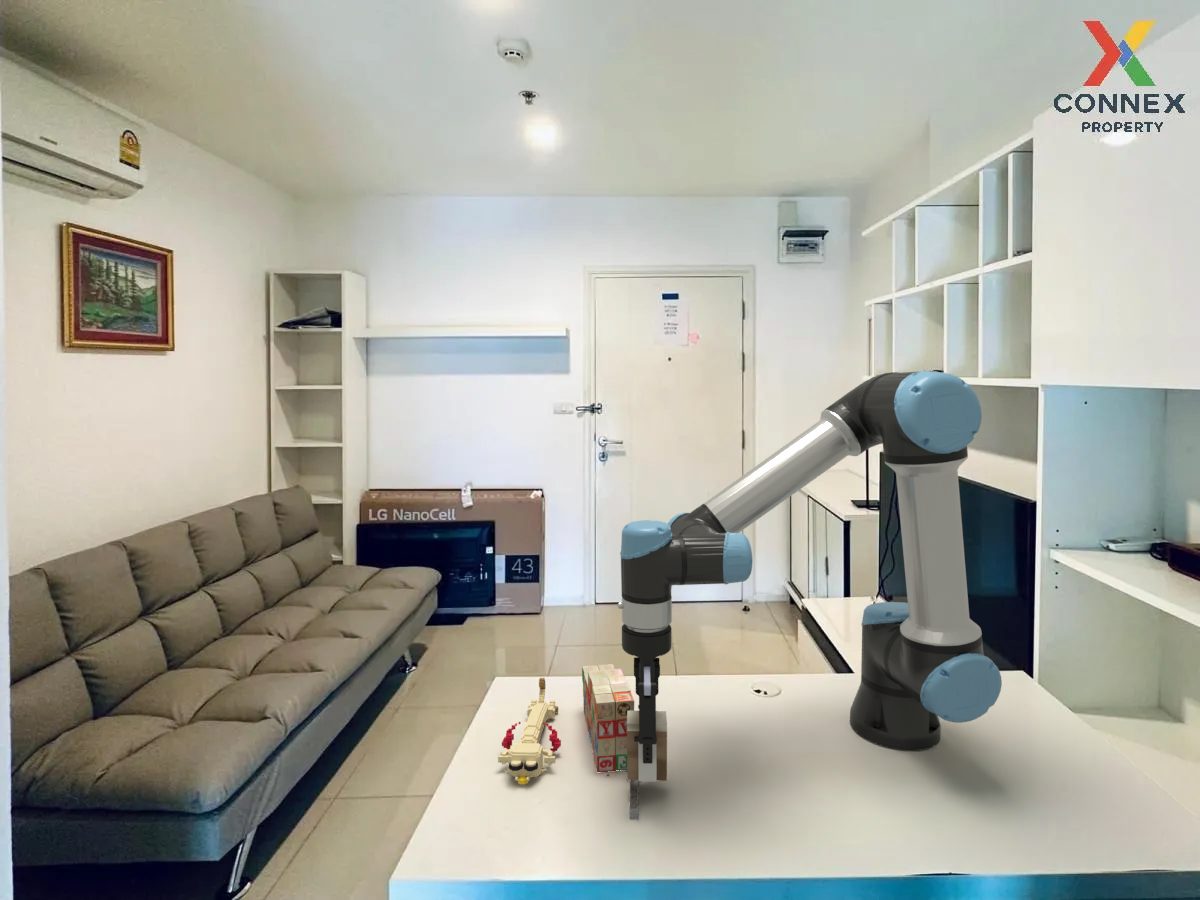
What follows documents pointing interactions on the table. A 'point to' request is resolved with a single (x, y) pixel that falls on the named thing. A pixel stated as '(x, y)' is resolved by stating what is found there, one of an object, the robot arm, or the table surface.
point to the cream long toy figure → (531, 741)
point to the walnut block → (633, 746)
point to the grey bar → (633, 799)
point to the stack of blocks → (607, 715)
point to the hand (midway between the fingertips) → (647, 770)
